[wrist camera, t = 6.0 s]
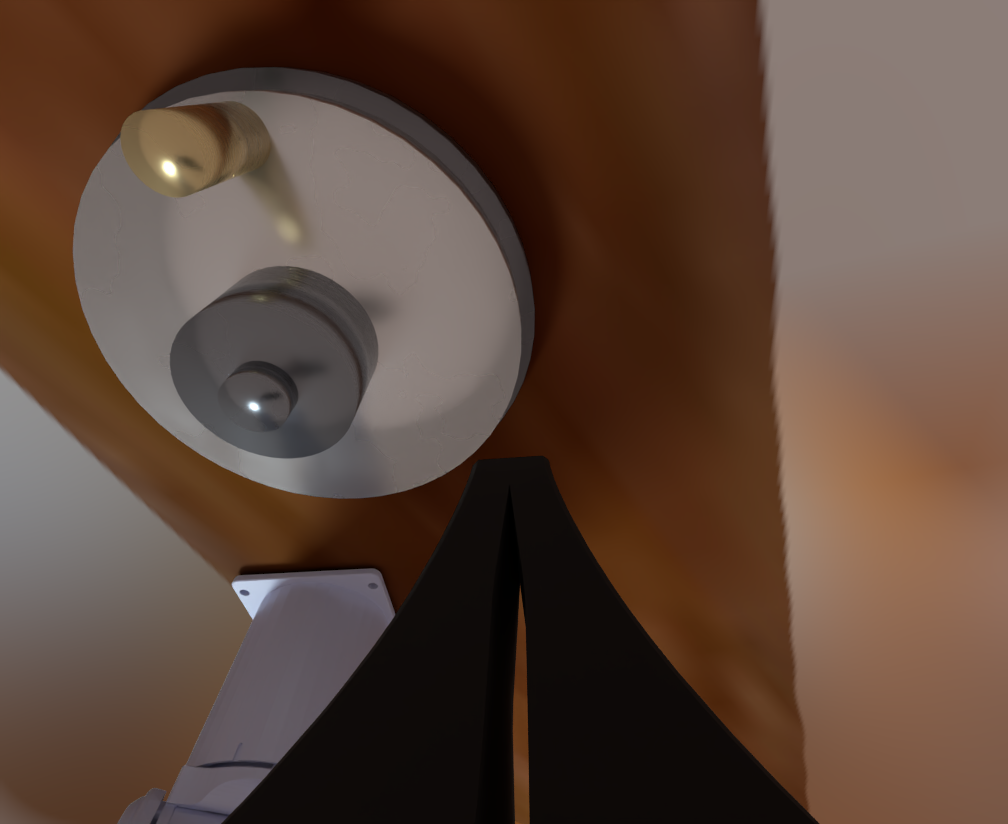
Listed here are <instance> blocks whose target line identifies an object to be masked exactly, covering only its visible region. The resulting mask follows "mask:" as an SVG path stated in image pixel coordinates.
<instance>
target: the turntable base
mask: <svg viewBox="0 0 1008 824" xmlns="http://www.w3.org/2000/svg"><path fill="white" fill-rule="evenodd" d="M243 90H285V91H293V92H301V93H308V94H314V95H318V96H321V97H325V98H329V99H332V100H336V101H339V102H343V103H347V104H349V105H351V106H354V107H356V108H358V109H361V110H363V111H365V112H368V113H370V114H372V115H375V116H377V117H379V118H381V119H383V120H384V121H386V122H388V123H389V124H391V125H393V126H395V127H396V128H398V129H400V130H401V131H403V132H405V133H406V134H408V135H410V136H411V137H412V138H414V139H415V140H416V141H418V142H419V143H420V144H421V145H423V146H424V147H425V148H427V149H428V150H429V151H430V152H432V153H433V154H434V155H436V156H437V157H438V158H439V159H440V160H441V161H442V162H443V163H444V164H445V165H446V166H447V167H448V168H449V169H450V170H451V171H452V172H453V173H454V174H455V175H456V176H457V177H458V178H459V179H460V180H461V181H462V182H463V183H464V185H465V186H466V187H467V189H468V190H469V191H470V192H471V194H472V195H473V196H474V198H475V199H476V200H477V201H478V203H479V204H480V205H481V207H482V208H483V210H484V211H485V213H486V215H487V217H488V218H489V220H490V222H491V223H492V225H493V227H494V228H495V230H496V232H497V233H498V236H499V238H500V240H501V243H502V245H503V247H504V249H505V252H506V254H507V256H508V259H509V262H510V265H511V269H512V272H513V276H514V279H515V283H516V286H517V293H518V300H519V307H520V316H521V357H520V364H519V371H518V377H517V380H516V384H515V387H514V390H513V394H512V397H511V399H510V402H509V404H508V406H507V408H506V410H505V412H504V414H503V416H502V418H503V417H504V415H505V414H506V413H507V411H508V410H509V408H510V407H511V405H512V404H513V402H514V400H515V398H516V396H517V394H518V392H519V390H520V388H521V386H522V383H523V381H524V378H525V375H526V372H527V368H528V365H529V362H530V358H531V352H532V346H533V340H534V320H535V307H534V299H533V291H532V283H531V275H530V269H529V266H528V262H527V258H526V254H525V250H524V247H523V243H522V241H521V238H520V236H519V234H518V231H517V229H516V226H515V224H514V221H513V219H512V216H511V215H510V213H509V211H508V209H507V208H506V206H505V204H504V202H503V201H502V199H501V197H500V195H499V194H498V192H497V190H496V189H495V187H494V186H493V185H492V183H491V182H490V181H489V179H488V178H487V177H486V175H485V174H484V173H483V171H482V170H481V169H480V167H479V166H478V165H477V163H476V162H475V161H474V160H473V159H472V158H471V157H470V156H469V155H468V154H467V153H466V152H465V151H464V150H463V149H462V148H461V146H460V145H459V144H458V143H457V142H456V141H455V140H454V139H453V138H452V137H451V136H449V135H448V134H447V133H446V132H444V131H443V130H442V129H441V128H439V127H438V126H437V125H436V124H434V123H433V122H432V121H431V120H429V119H428V118H427V117H426V116H424V115H423V114H421V113H419V112H418V111H416V110H415V109H413V108H411V107H410V106H408V105H406V104H405V103H403V102H401V101H400V100H398V99H397V98H395V97H393V96H391V95H389V94H386V93H384V92H382V91H380V90H377V89H375V88H373V87H371V86H368V85H366V84H364V83H361V82H359V81H355V80H352V79H348V78H345V77H341V76H338V75H334V74H331V73H327V72H321V71H314V70H306V69H299V68H291V67H263V68H238V69H233V70H228V71H223V72H218V73H213V74H207V75H204V76H202V77H199V78H197V79H194V80H191V81H189V82H186V83H184V84H181V85H179V86H176V87H174V88H173V89H171V90H169V91H168V92H166V93H165V94H163V95H161V96H160V97H158V98H157V99H155V100H153V101H152V102H150V103H149V104H147V105H146V106H145V107H144V108H143V109H142V110H149V109H158V108H166V107H168V106H171V105H173V104H176V103H179V102H181V101H184V100H187V99H189V98H194V97H199V96H205V95H210V94H215V93H220V92H229V91H243ZM120 136H121V132H120V134H119V135H118V136H117V138H116V139H115V141H114V142H113V143H112V145H113V144H114V143H115V142H116V141H117V140H118V139H119V138H120ZM112 145H111V146H112ZM111 146H110V147H111ZM502 418H501V420H502ZM501 420H500V421H501ZM500 421H499V422H500Z"/></svg>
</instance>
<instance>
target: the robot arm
mask: <svg viewBox="0 0 1008 824" xmlns="http://www.w3.org/2000/svg"><path fill="white" fill-rule="evenodd" d="M520 586H521V594H522V602H523V609H524V617H525V624H526V651H527V696H528V747H529V804H530V824H819V823H818V822H817V821H816V820H815V819H814V818H813V817H812V816H811V815H810V814H809V813H808V812H807V811H806V810H805V809H804V808H803V807H802V806H801V805H800V804H799V803H798V802H797V801H796V800H795V799H794V798H793V797H792V796H791V795H790V794H789V793H788V792H787V791H786V790H785V789H784V788H783V787H782V786H781V785H780V784H779V783H778V782H777V780H776V779H775V778H774V777H773V776H772V775H771V774H770V773H769V772H768V771H767V770H766V769H765V768H764V767H763V766H762V765H761V764H760V763H759V761H758V760H757V759H756V758H755V757H754V756H753V755H752V754H751V753H750V752H749V751H748V750H747V749H746V748H745V747H744V746H743V745H742V744H741V743H740V741H739V740H738V739H737V738H736V737H735V736H734V735H733V734H732V733H731V732H730V731H729V729H728V728H727V727H726V726H725V725H724V724H723V723H722V722H721V720H720V719H719V718H718V717H717V716H716V715H715V714H714V712H713V711H712V710H711V709H710V708H709V707H708V706H707V704H706V703H705V702H704V701H703V700H702V699H701V698H700V696H699V695H698V694H697V693H696V692H695V691H694V690H693V688H692V687H691V686H690V685H689V684H688V683H687V682H686V681H685V679H684V678H683V677H682V676H681V675H680V674H679V673H678V671H677V670H676V669H675V668H674V666H673V665H672V664H671V663H670V661H669V660H668V659H667V658H666V656H665V655H664V654H663V653H662V651H661V650H660V649H659V648H658V646H657V645H656V644H655V643H654V641H653V640H652V639H651V638H650V636H649V635H648V634H647V632H646V631H645V630H644V628H643V627H642V626H641V624H640V623H639V622H638V620H637V619H636V618H635V616H634V615H633V614H632V612H631V611H630V610H629V608H628V607H627V605H626V604H625V603H624V601H623V600H622V598H621V597H620V595H619V594H618V593H617V591H616V590H615V588H614V587H613V585H612V584H611V582H610V581H609V579H608V578H607V576H606V574H605V573H604V571H603V570H602V568H601V567H600V565H599V564H598V562H597V560H596V559H595V557H594V556H593V554H592V552H591V551H590V549H589V547H588V546H587V544H586V542H585V540H584V538H583V537H582V535H581V533H580V531H579V530H578V528H577V526H576V524H575V522H574V521H573V519H572V517H571V515H570V513H569V511H568V509H567V507H566V505H565V503H564V501H563V498H562V496H561V494H560V492H559V490H558V487H557V485H556V482H555V480H554V477H553V474H552V471H551V468H550V464H549V460H548V459H546V458H545V457H544V456H531V457H516V458H500V459H485V460H478V461H477V462H476V463H475V464H474V465H473V467H472V470H471V474H470V476H469V479H468V482H467V484H466V487H465V489H464V492H463V494H462V496H461V499H460V501H459V503H458V505H457V507H456V510H455V512H454V514H453V516H452V518H451V520H450V522H449V524H448V526H447V528H446V530H445V532H444V534H443V535H442V537H441V539H440V541H439V543H438V545H437V547H436V549H435V551H434V553H433V554H432V556H431V558H430V559H429V561H428V563H427V565H426V566H425V568H424V570H423V571H422V573H421V575H420V576H419V578H418V580H417V581H416V583H415V585H414V587H413V588H412V590H411V591H410V593H409V595H408V596H407V598H406V599H405V601H404V602H403V604H402V606H401V607H400V609H399V610H398V612H397V613H396V614H395V612H394V609H393V606H392V603H391V600H390V597H389V594H388V591H387V588H386V586H385V583H384V580H383V577H382V574H381V573H380V571H378V570H377V569H373V568H368V569H349V570H330V571H311V572H292V573H273V574H254V575H240V576H236V577H235V578H234V580H233V582H232V587H233V588H234V590H235V592H236V593H237V595H238V596H239V598H240V599H241V601H242V603H243V604H244V606H245V608H246V609H247V611H248V613H249V614H250V616H251V617H252V619H253V621H252V623H251V625H250V628H249V630H248V632H247V634H246V636H245V638H244V640H243V643H242V645H241V647H240V649H239V651H238V653H237V656H236V658H235V660H234V662H233V664H232V666H231V669H230V671H229V673H228V675H227V677H226V680H225V682H224V684H223V686H222V688H221V690H220V692H219V695H218V697H217V699H216V701H215V703H214V705H213V708H212V710H211V712H210V714H209V716H208V718H207V721H206V723H205V725H204V727H203V729H202V731H201V733H200V736H199V738H198V740H197V742H196V744H195V746H194V749H193V751H192V753H191V755H190V757H189V759H188V762H187V764H186V765H185V766H183V767H182V769H181V771H180V773H179V775H178V778H177V780H176V782H175V784H174V786H173V788H172V791H171V793H170V795H169V797H168V799H167V801H166V802H165V801H163V798H164V796H165V794H166V791H164V790H161V789H157V788H153V789H151V790H150V791H149V792H148V793H147V794H146V796H145V797H144V796H143V797H141V798H139V799H138V800H136V801H134V802H133V803H132V804H130V805H129V806H128V807H127V809H126V810H125V812H124V813H123V815H122V817H121V818H120V820H119V822H118V824H515V809H514V769H513V695H514V678H515V661H516V644H517V627H518V609H519V591H520Z"/></svg>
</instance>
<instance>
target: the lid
mask: <svg viewBox="0 0 1008 824" xmlns="http://www.w3.org/2000/svg"><path fill="white" fill-rule="evenodd" d="M377 362H378V340H377V335H376V332H375V329H374V326H373V324H372V322H371V319H370V318H369V316H368V314H367V313H366V311H365V309H364V308H363V307H362V306H361V304H360V303H359V302H358V301H357V300H356V299H355V297H354V296H353V295H352V294H351V293H349V292H348V291H347V290H346V289H345V288H343V287H342V286H341V285H339V284H338V283H336V282H335V281H333V280H332V279H330V278H328V277H326V276H324V275H322V274H319V273H317V272H314V271H311V270H308V269H304V268H300V267H292V266H273V267H266V268H263V269H259V270H256V271H254V272H252V273H250V274H248V275H246V276H245V277H244V278H242V279H241V280H239V281H238V282H237V283H235V284H234V285H233V286H232V287H230V288H229V289H228V290H227V291H225V292H224V293H223V294H221V295H220V296H219V297H218V298H216V299H215V300H214V301H212V302H211V303H210V304H209V305H207V306H206V307H205V308H203V309H202V310H201V311H200V312H198V313H197V314H196V315H195V316H193V317H192V318H191V319H189V320H188V321H187V322H186V323H185V324H184V325H183V326H182V327H181V329H180V330H179V332H178V333H177V335H176V337H175V339H174V341H173V343H172V348H171V352H170V370H171V376H172V379H173V383H174V386H175V388H176V390H177V392H178V395H179V396H180V398H181V400H182V401H183V403H184V404H185V406H186V407H187V408H188V410H189V411H190V413H191V414H192V415H193V416H194V417H195V418H196V419H197V420H198V421H199V422H200V423H201V424H202V425H203V426H204V427H206V428H207V429H208V430H209V431H211V432H212V433H213V434H215V435H216V436H217V437H219V438H221V439H222V440H224V441H226V442H227V443H229V444H231V445H233V446H235V447H237V448H240V449H242V450H245V451H248V452H251V453H254V454H257V455H261V456H266V457H272V458H283V459H293V458H303V457H307V456H312V455H315V454H318V453H321V452H323V451H325V450H327V449H329V448H330V447H332V446H333V445H335V444H336V443H337V442H338V441H339V440H340V439H342V438H343V436H344V435H345V434H346V432H347V431H348V430H349V428H350V426H351V424H352V422H353V419H354V417H355V415H356V413H357V410H358V408H359V406H360V404H361V401H362V399H363V397H364V394H365V392H366V390H367V388H368V385H369V383H370V381H371V379H372V376H373V374H374V372H375V369H376V366H377Z"/></svg>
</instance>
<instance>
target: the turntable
mask: <svg viewBox="0 0 1008 824" xmlns="http://www.w3.org/2000/svg"><path fill="white" fill-rule="evenodd" d="M73 260H74V270H75V281H76V285H77V289H78V293H79V297H80V301H81V305H82V309H83V311H84V314H85V317H86V319H87V322H88V324H89V327H90V330H91V332H92V335H93V337H94V338H95V340H96V342H97V344H98V346H99V348H100V350H101V352H102V354H103V355H104V357H105V359H106V361H107V362H108V364H109V365H110V367H111V368H112V370H113V371H114V372H115V374H116V375H117V377H118V378H119V380H120V381H121V383H122V384H123V385H124V386H125V388H126V389H127V390H128V391H129V392H130V394H131V395H132V396H133V397H134V398H135V399H136V401H137V402H138V403H139V404H140V405H141V406H142V407H143V408H144V409H145V410H146V411H147V412H148V413H149V414H150V415H151V416H152V417H153V418H154V419H155V420H156V421H157V422H158V423H159V424H160V425H162V426H163V427H164V428H165V429H167V430H168V431H169V432H170V433H171V434H173V435H174V436H175V437H176V438H177V439H179V440H180V441H182V442H183V443H184V444H186V445H187V446H189V447H190V448H192V449H193V450H195V451H196V452H198V453H199V454H201V455H202V456H204V457H206V458H207V459H209V460H211V461H213V462H215V463H216V464H218V465H220V466H222V467H223V468H226V469H228V470H230V471H232V472H234V473H236V474H239V475H241V476H243V477H245V478H248V479H250V480H253V481H256V482H259V483H262V484H264V485H267V486H270V487H274V488H277V489H281V490H285V491H289V492H292V493H298V494H304V495H310V496H315V497H327V498H368V497H377V496H384V495H389V494H393V493H398V492H403V491H406V490H409V489H412V488H415V487H418V486H421V485H424V484H426V483H428V482H430V481H432V480H434V479H436V478H439V477H441V476H443V475H444V474H446V473H447V472H449V471H451V470H452V469H454V468H455V467H457V466H458V465H460V464H461V463H462V462H464V461H465V460H466V459H467V458H468V457H470V456H471V455H472V454H473V453H474V452H475V451H476V450H477V449H478V448H479V447H480V446H481V445H482V444H483V443H484V442H485V440H486V439H487V438H488V437H489V436H490V435H491V433H492V432H493V430H494V429H495V427H496V426H497V424H498V423H499V421H500V420H501V418H502V416H503V414H504V412H505V410H506V408H507V406H508V404H509V402H510V399H511V397H512V394H513V390H514V387H515V384H516V380H517V377H518V371H519V364H520V357H521V316H520V307H519V300H518V293H517V286H516V283H515V279H514V276H513V272H512V269H511V265H510V262H509V259H508V256H507V254H506V252H505V249H504V247H503V245H502V243H501V240H500V238H499V236H498V233H497V232H496V230H495V228H494V227H493V225H492V223H491V222H490V220H489V218H488V217H487V215H486V213H485V211H484V210H483V208H482V207H481V205H480V204H479V203H478V201H477V200H476V199H475V198H474V196H473V195H472V194H471V192H470V191H469V190H468V189H467V187H466V186H465V185H464V183H463V182H462V181H461V180H460V179H459V178H458V177H457V176H456V175H455V174H454V173H453V172H452V171H451V170H450V169H449V168H448V167H447V166H446V165H445V164H444V163H443V162H442V161H441V160H440V159H439V158H438V157H437V156H436V155H434V154H433V153H432V152H430V151H429V150H428V149H427V148H425V147H424V146H423V145H421V144H420V143H419V142H418V141H416V140H415V139H414V138H412V137H411V136H410V135H408V134H406V133H405V132H403V131H401V130H400V129H398V128H396V127H395V126H393V125H391V124H389V123H388V122H386V121H384V120H383V119H381V118H379V117H377V116H375V115H372V114H370V113H368V112H365V111H363V110H361V109H358V108H356V107H354V106H351V105H349V104H347V103H343V102H339V101H336V100H332V99H329V98H325V97H321V96H318V95H314V94H308V93H301V92H293V91H285V90H243V91H229V92H220V93H215V94H210V95H205V96H199V97H194V98H189V99H187V100H184V101H181V102H179V103H176V104H173V105H171V106H168V107H166V108H158V109H149V110H141V111H138V112H135V113H133V114H131V115H130V116H129V117H128V118H127V119H126V120H125V122H124V124H123V126H122V129H121V136H120V138H119V139H118V140H117V141H116V142H115V143H114V144H113V145H112V146H111V147H110V148H109V149H108V151H107V152H106V153H105V155H104V156H103V158H102V159H101V160H100V162H99V163H98V165H97V166H96V167H95V169H94V170H93V172H92V174H91V176H90V179H89V181H88V183H87V185H86V187H85V190H84V192H83V194H82V196H81V200H80V204H79V208H78V212H77V217H76V221H75V226H74V242H73ZM273 266H292V267H300V268H304V269H308V270H311V271H314V272H317V273H319V274H322V275H324V276H326V277H328V278H330V279H332V280H333V281H335V282H336V283H338V284H339V285H341V286H342V287H343V288H345V289H346V290H347V291H348V292H349V293H351V294H352V295H353V296H354V297H355V299H356V300H357V301H358V302H359V303H360V304H361V306H362V307H363V308H364V309H365V311H366V313H367V314H368V316H369V318H370V319H371V322H372V324H373V326H374V329H375V332H376V335H377V340H378V362H377V366H376V369H375V372H374V374H373V376H372V379H371V381H370V383H369V385H368V388H367V390H366V392H365V394H364V397H363V399H362V401H361V404H360V406H359V408H358V410H357V413H356V415H355V417H354V419H353V422H352V424H351V426H350V428H349V430H348V431H347V432H346V434H345V435H344V436H343V438H342V439H340V440H339V441H338V442H337V443H336V444H335V445H333V446H332V447H330V448H329V449H327V450H325V451H323V452H321V453H318V454H315V455H312V456H307V457H303V458H293V459H283V458H272V457H266V456H261V455H257V454H254V453H251V452H248V451H245V450H242V449H240V448H237V447H235V446H233V445H231V444H229V443H227V442H226V441H224V440H222V439H221V438H219V437H217V436H216V435H215V434H213V433H212V432H211V431H209V430H208V429H207V428H206V427H204V426H203V425H202V424H201V423H200V422H199V421H198V420H197V419H196V418H195V417H194V416H193V415H192V414H191V413H190V411H189V410H188V408H187V407H186V406H185V404H184V403H183V401H182V400H181V398H180V396H179V395H178V392H177V390H176V388H175V386H174V383H173V379H172V376H171V370H170V352H171V348H172V343H173V341H174V339H175V337H176V335H177V333H178V332H179V330H180V329H181V327H182V326H183V325H184V324H185V323H186V322H187V321H188V320H189V319H191V318H192V317H193V316H195V315H196V314H197V313H198V312H200V311H201V310H202V309H203V308H205V307H206V306H207V305H209V304H210V303H211V302H212V301H214V300H215V299H216V298H218V297H219V296H220V295H221V294H223V293H224V292H225V291H227V290H228V289H229V288H230V287H232V286H233V285H234V284H235V283H237V282H238V281H239V280H241V279H242V278H244V277H245V276H246V275H248V274H250V273H252V272H254V271H256V270H259V269H263V268H266V267H273Z"/></svg>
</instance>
